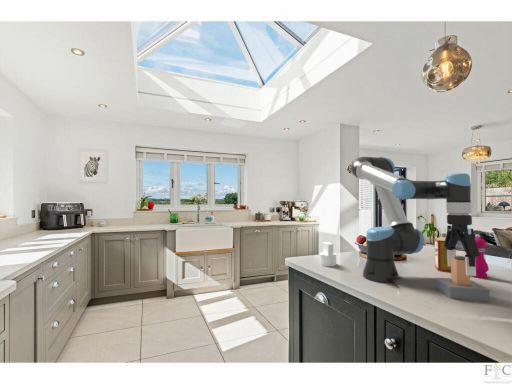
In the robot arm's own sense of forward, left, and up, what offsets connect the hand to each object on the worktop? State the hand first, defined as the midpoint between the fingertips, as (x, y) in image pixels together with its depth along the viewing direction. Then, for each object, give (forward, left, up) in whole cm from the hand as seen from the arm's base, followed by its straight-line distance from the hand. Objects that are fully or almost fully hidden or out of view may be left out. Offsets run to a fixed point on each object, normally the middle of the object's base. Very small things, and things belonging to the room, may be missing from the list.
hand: (460, 270), depth 99 cm
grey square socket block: (0, 0, -10) cm, 10 cm away
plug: (0, 0, -9) cm, 9 cm away
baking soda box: (+12, +43, -10) cm, 46 cm away
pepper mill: (+22, +32, -10) cm, 40 cm away
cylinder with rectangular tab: (-47, +40, -10) cm, 63 cm away
